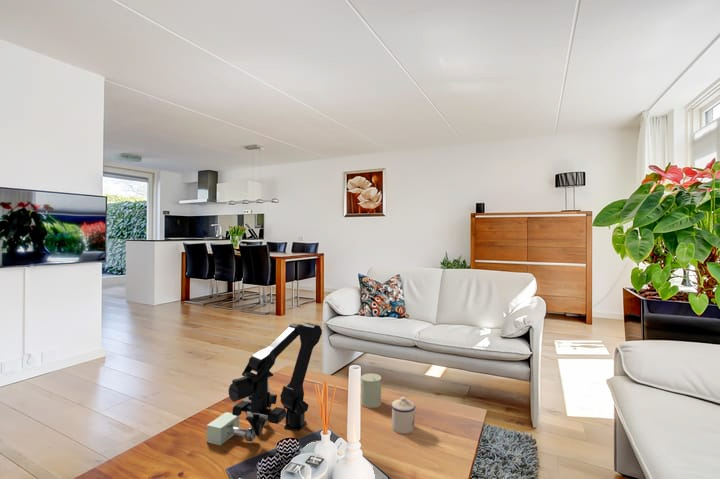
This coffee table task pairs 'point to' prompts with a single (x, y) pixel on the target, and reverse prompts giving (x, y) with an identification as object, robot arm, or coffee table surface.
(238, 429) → the pin
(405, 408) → the teacup with lid
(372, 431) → the coffee table surface
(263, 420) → the robot arm
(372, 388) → the can
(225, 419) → the block
